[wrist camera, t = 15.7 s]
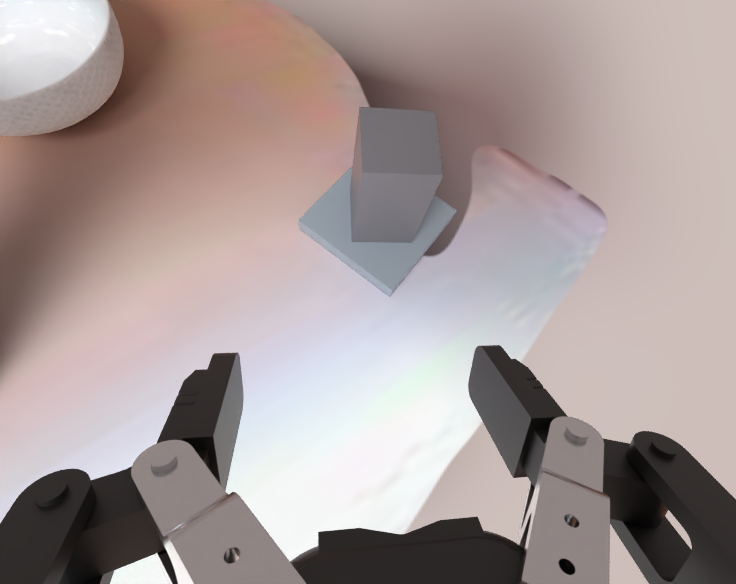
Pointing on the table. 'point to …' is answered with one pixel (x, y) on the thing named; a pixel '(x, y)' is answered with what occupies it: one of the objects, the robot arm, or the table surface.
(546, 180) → the table surface
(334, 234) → the stub base
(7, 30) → the cereal bowl
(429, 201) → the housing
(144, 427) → the table surface
